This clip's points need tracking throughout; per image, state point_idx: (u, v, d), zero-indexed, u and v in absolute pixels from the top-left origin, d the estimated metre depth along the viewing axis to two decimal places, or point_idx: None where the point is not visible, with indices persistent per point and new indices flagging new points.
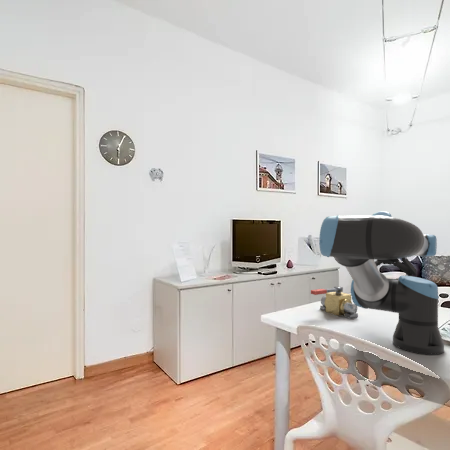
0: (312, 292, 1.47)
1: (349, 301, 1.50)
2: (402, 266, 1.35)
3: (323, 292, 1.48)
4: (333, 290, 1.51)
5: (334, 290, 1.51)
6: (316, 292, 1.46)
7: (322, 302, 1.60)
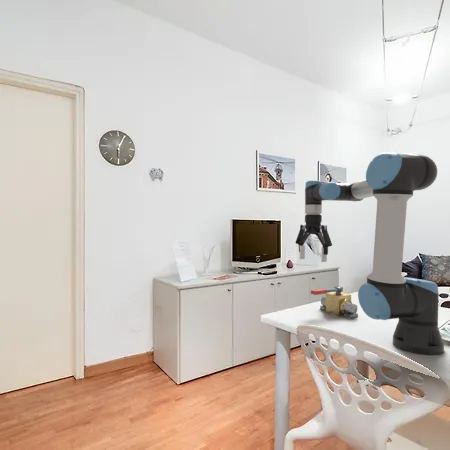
0: (312, 292, 1.47)
1: (349, 301, 1.50)
2: (321, 237, 1.48)
3: (323, 292, 1.48)
4: (333, 290, 1.51)
5: (334, 290, 1.51)
6: (316, 292, 1.46)
7: (322, 302, 1.60)
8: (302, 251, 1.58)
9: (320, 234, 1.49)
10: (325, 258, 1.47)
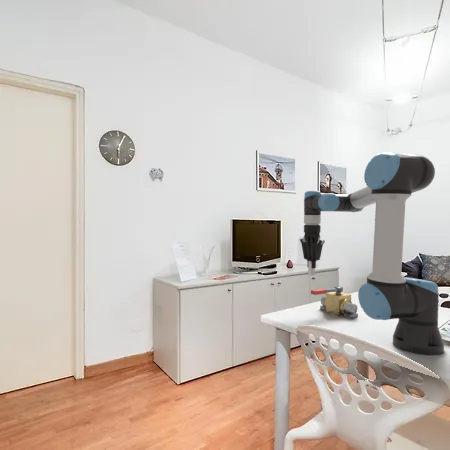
0: (312, 292, 1.47)
1: (349, 301, 1.50)
2: (314, 250, 1.51)
3: (323, 292, 1.48)
4: (333, 290, 1.51)
5: (334, 290, 1.51)
6: (316, 292, 1.46)
7: (322, 302, 1.60)
8: None
9: (315, 247, 1.51)
10: (313, 271, 1.53)
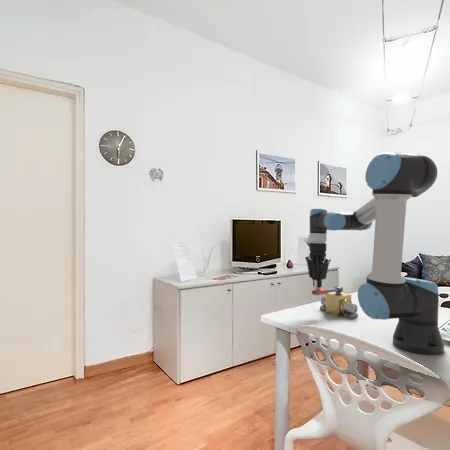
0: (313, 292, 1.46)
1: (349, 301, 1.50)
2: (320, 269, 1.48)
3: (324, 292, 1.47)
4: (333, 290, 1.51)
5: (334, 290, 1.51)
6: (317, 292, 1.45)
7: (322, 302, 1.60)
8: None
9: (321, 265, 1.48)
10: None
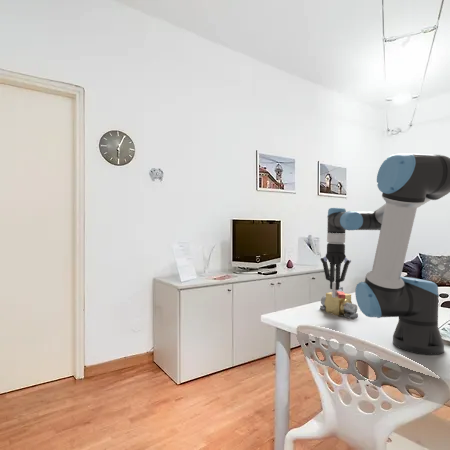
0: (341, 296, 1.39)
1: (349, 301, 1.50)
2: (339, 271, 1.42)
3: None
4: (341, 291, 1.50)
5: None
6: None
7: (322, 302, 1.60)
8: None
9: (339, 267, 1.43)
10: (336, 293, 1.44)
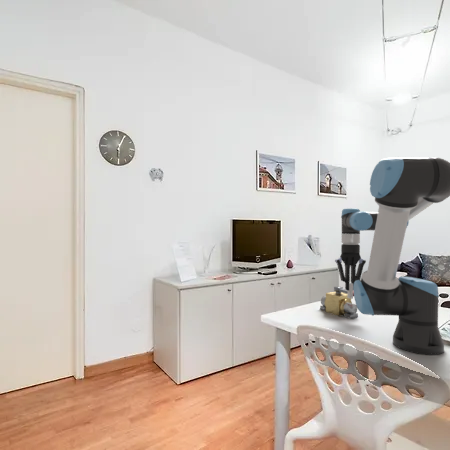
0: None
1: (349, 301, 1.50)
2: None
3: None
4: None
5: None
6: None
7: (322, 302, 1.60)
8: None
9: None
10: None
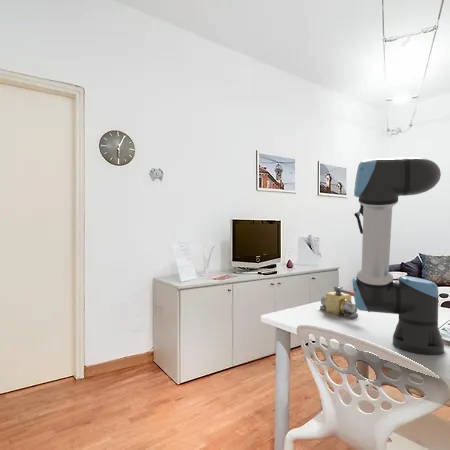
0: None
1: (349, 301, 1.50)
2: None
3: None
4: None
5: None
6: None
7: (322, 302, 1.60)
8: None
9: None
10: None
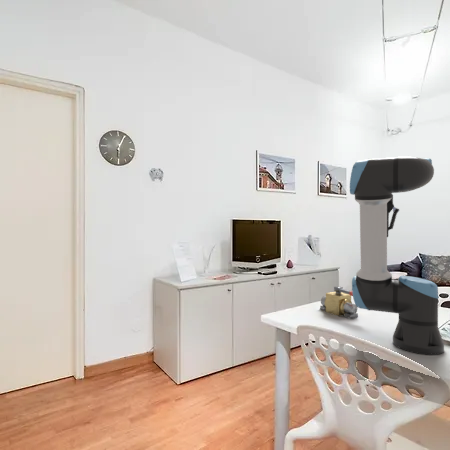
0: None
1: (349, 301, 1.50)
2: (388, 220, 1.52)
3: None
4: None
5: None
6: None
7: (322, 302, 1.60)
8: None
9: (388, 216, 1.52)
10: None
